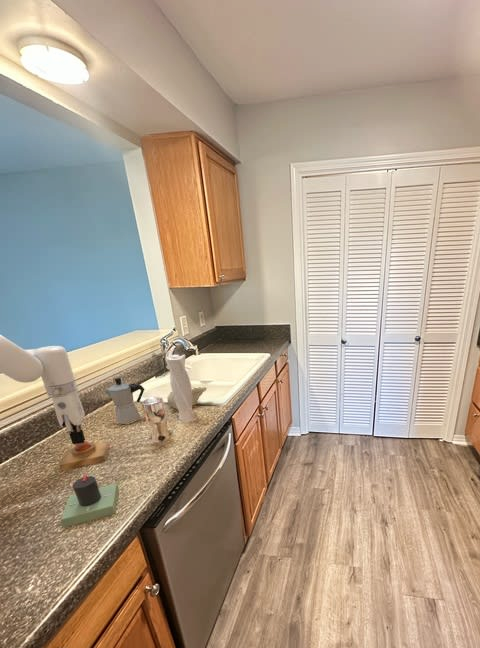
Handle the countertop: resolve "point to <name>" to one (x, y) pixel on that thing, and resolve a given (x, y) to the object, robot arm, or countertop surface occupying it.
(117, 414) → the coffee maker
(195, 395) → the cheese
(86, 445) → the dispense button
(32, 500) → the countertop surface
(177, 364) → the skyscraper
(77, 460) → the button block
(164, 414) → the beer glass
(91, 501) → the dial
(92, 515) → the dial panel
